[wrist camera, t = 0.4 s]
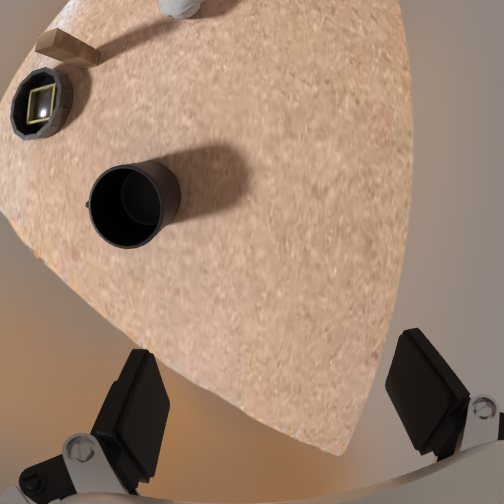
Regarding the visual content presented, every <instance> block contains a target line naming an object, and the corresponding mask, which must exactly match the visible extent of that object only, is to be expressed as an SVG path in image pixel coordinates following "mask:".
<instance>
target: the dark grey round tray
mask: <svg viewBox="0 0 504 504" xmlns="http://www.w3.org/2000/svg"><path fill="white" fill-rule="evenodd" d="M72 100H73V89H72V85H71V82H70V80H69V78H68V77H67V76H66V75H65V74H63V73H60V72H58V71H56V70H53V69H50V68H47V67H44V68H41V69H38V70H35V71H32V72H31V73H30V74H29V75H28V76H27V77H26V78H25V79H24V80H23V81H22V82H21V83H20V85H19V87H18V89H17V91H16V93H15V96H14V98H13V100H12V106H11V115H10V120H11V124H12V127H13V130H14V133H15V134H16V135H18V136H19V137H20V138H22V139H23V140H37V139H44V138H48V137H50V136H51V135H53V134H54V133H56V132H57V131H58V130H59V129H60V127H61V126H62V125H63V123H64V122H65V120H66V118H67V116H68V114H69V112H70V109H71V105H72Z"/></svg>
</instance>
